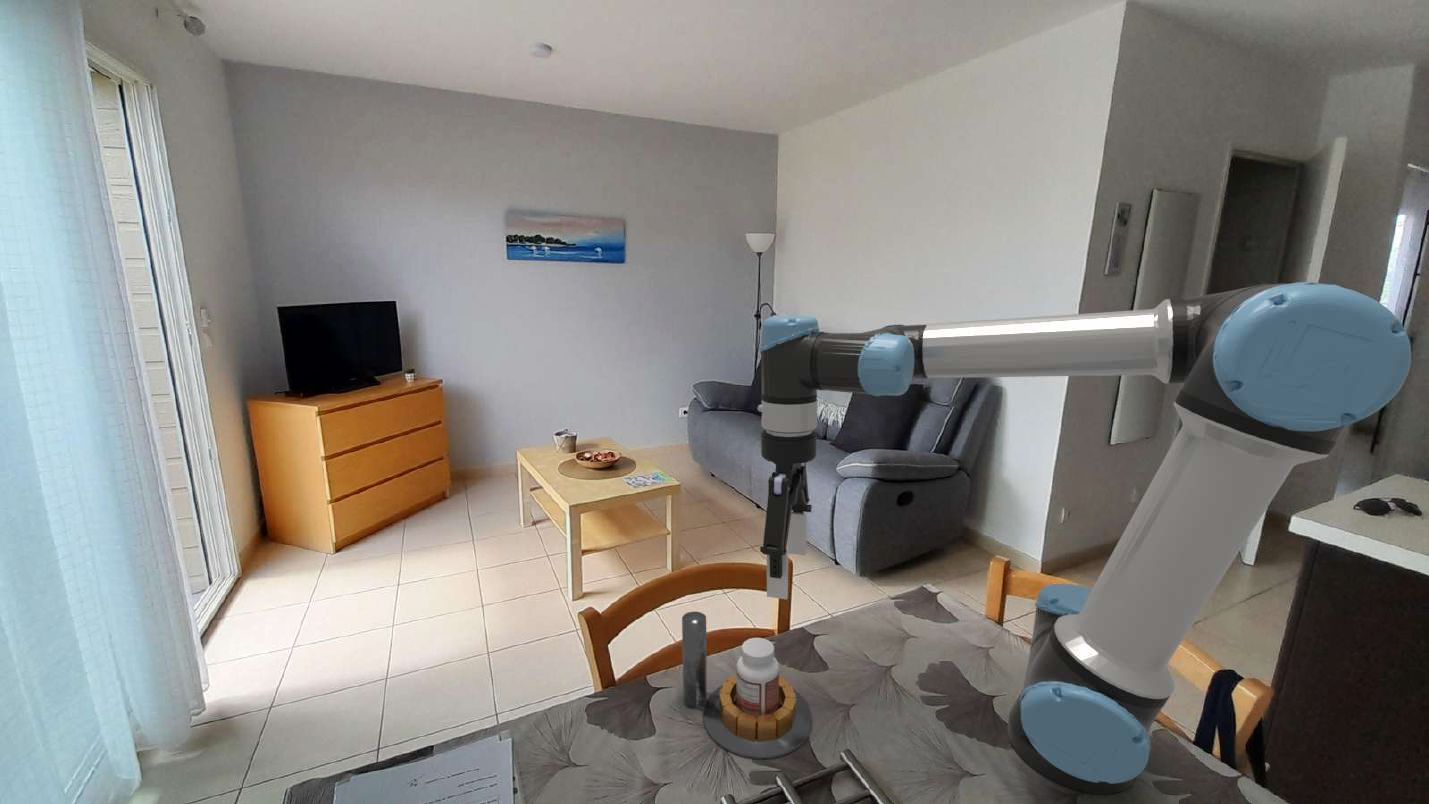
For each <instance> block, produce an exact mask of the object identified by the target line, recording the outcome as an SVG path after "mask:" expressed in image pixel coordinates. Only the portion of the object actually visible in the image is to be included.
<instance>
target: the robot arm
mask: <svg viewBox="0 0 1429 804" xmlns="http://www.w3.org/2000/svg"><path fill="white" fill-rule="evenodd" d="M759 353H760V362H761V363H760V365H761V366H760V367H761V368H760V369H761V370H760V372H761V373H760V375H761V404H758V406H757V411H758V412H761V427H762V428H763V429H764V430H763V431H762V432H761V436H760V444H761V445H760V447H761V448H760V452H761V457H762V458H763V459H764V460H765V461H768V462H771V463H773V464H775V471H774V472H772V473H771V476H769V478H768V480H767V482H768V491H767V492H768V493H767V495H768V496H767V504H766V512H765V514H766V515H765V525H764V534H763V543H762V546H761V545H760V547H759V548H760V549H759V551H760V553H762V554H763V555H766V597H768V598H772V599H773V598H775V599H781V600H785V601H786V600H788V598H789V554H791V555H792V554H793V555H799V556H806V554H807V513H812V509H813V507H812V506H813V505H812V504H809V502H810V498H809V486H808V475H807V474H808V473H807V463H810V462H812V461H813V460H814V459H815V458H816V456H817V433H816V432H815V431H814V430H816V428H818V427H817V426H818V391H829V392H841V393H851V394H861V395H871V396H873V397H881V396H896V397H898V396H902V395H904V394H906V393H907V391H908V390H909V387H910V385H911V384H912V381H913V379H914V380H922V379H936V378H937V379H942V378H944V379H945V378H947V379H949V378H950V379H951V378H952V379H953V378H955V379H956V378H1021V377H1022V378H1023V377H1024V378H1027V377H1028V378H1029V377H1031V378H1033V377H1087V376H1088V377H1090V376H1091V377H1095V376H1096V377H1097V376H1098V377H1100V376H1104V377H1105V376H1154V377H1155V378H1156V379H1158V380H1159V381H1161V382H1162V383H1163V384H1182V387H1181V389H1180V391H1179V393H1178V394H1177V396H1176V398H1175V400H1174V402H1173V407H1174V408H1175V410H1176V412H1177V414H1178V416H1179V418H1180V420H1181V428H1180V430H1179V432H1178V434H1177V435H1176V436H1175V439H1174V441H1173V442H1172V445H1171V446H1170V448H1169V450H1168V452H1167V454H1166V455H1165V457H1164V458H1163V460H1162V463H1161V464H1160V466H1159V468H1158V469H1157V472H1156V473H1155V475H1154V476H1153V478H1152V480H1151V482H1150V484H1149V486H1148V487H1147V490H1146V492H1145V493H1144V495H1143V497H1142V499H1141V501H1140V503H1139V504H1138V506H1137V507H1136V509H1135V511H1134V513H1133V515H1132V517H1131V519H1130V521H1128V524H1127V526H1126V528H1125V529H1124V531H1123V533H1122V534H1121V536H1120V538H1119V540H1118V542H1117V544H1116V546H1115V547H1114V550H1113V551H1112V553H1111V555H1110V557H1109V558H1108V560H1107V561H1106V563H1105V566H1104V567H1103V569H1102V571H1101V573H1100V575H1099V576H1098V579H1097V580H1096V581H1095V584H1094V585H1093V587H1088V586H1086V585H1085V586H1083V585H1079V584H1071V583H1051V584H1048V585H1044V586H1043V587H1042V588H1040V590H1039V592H1038V595H1037V600H1036V602H1035V603H1034V606H1035V613H1034V614H1035V615H1034V616H1035V617H1034V624H1033V629H1032V636H1031V642H1030V643H1031V645H1030V650H1029V654H1028V655H1029V656H1028V660H1027V661H1028V662H1027V667H1026V672H1025V677H1024V684H1023V688H1022V690H1021V692H1020V693H1019V695H1018V697H1017V699H1016V700H1015V702H1014V704H1013V705H1012V707H1011V709H1010V711H1009V714H1008V723H1007V736H1008V739H1009V742H1010V743H1011V746H1012V747H1013V749H1014V750H1015V751H1016V753H1017V754H1018V755H1019V757H1020V758H1022V760H1023V761H1025V763H1026V764H1028V765H1029V766H1030V767H1031V768H1033V769H1034V770H1036V771H1037V772H1038V773H1040V774H1041V775H1042V776H1044V777H1046V778H1048V779H1049V780H1051V781H1053V782H1055V783H1056V784H1057V783H1058V784H1059V785H1062V786H1064V787H1067V788H1069V789H1073V790H1077V791H1080V792H1083V793H1089V794H1094V795H1095V794H1096V795H1110V794H1116V793H1120V792H1122V791H1125V790H1126V789H1127V788H1129V787H1130V786H1131V785H1132V784H1133V782H1134V780H1135V778H1136V777H1138V776H1139V775H1140V774H1141V773H1142V772H1143V771H1144V770H1145V768H1146V766H1147V764H1148V763H1149V762H1148V761H1149V758H1150V752H1151V751H1152V748H1151V747H1152V746H1151V744H1152V743H1151V739H1150V737H1149V731H1150V728H1151V726H1152V725H1153V723H1154V722H1155V721H1156V719H1157V718H1158V716H1159V714H1161V713H1160V712H1162V709H1163V708H1164V707H1165V705H1166V703H1167V701H1168V700H1169V699H1170V697H1171V695H1172V694H1173V693H1174V690H1175V681H1174V678H1173V676H1172V673H1170V670H1169V668H1168V666H1167V665H1169V664H1168V663H1170V660H1171V659H1172V658H1173V656H1174V654H1175V653H1176V651H1177V650H1178V648H1179V646H1180V645H1181V643H1182V642H1183V641H1184V638H1185V637H1186V635H1187V634H1188V632H1189V631H1190V629H1191V628H1192V626H1193V624H1194V623H1195V621H1196V620H1197V619H1198V617H1199V616H1200V614H1201V612H1202V611H1203V609H1204V607H1205V606H1206V604H1207V602H1208V601H1209V600H1210V599H1211V596H1212V595H1213V593H1214V592H1215V590H1216V589H1217V587H1218V586H1219V584H1220V582H1221V581H1222V579H1223V577H1225V575H1226V573H1227V571H1228V570H1229V568H1230V567H1231V565H1232V564H1233V562H1234V561H1235V559H1236V558H1237V555H1238V554H1239V553H1240V551H1241V550H1242V548H1243V546H1245V543H1246V542H1247V540H1248V539H1249V537H1250V536H1251V534H1252V532H1253V531H1254V529H1255V528H1256V526H1257V525H1258V523H1259V522H1260V520H1261V518H1262V517H1263V515H1264V514H1265V512H1266V510H1267V509H1268V507H1269V505H1270V504H1272V503H1271V502H1272V501H1273V499H1274V498H1275V497H1276V495H1277V494H1278V491H1279V490H1280V488H1281V487H1282V485H1283V484H1284V483H1285V481H1286V479H1287V477H1288V476H1289V475H1290V473H1291V471H1292V469H1293V468H1294V467H1295V466H1297V465H1300V464H1305V463H1308V462H1309V463H1310V462H1313V461H1316V460H1318V461H1319V460H1322V459H1326V458H1327V457H1328V456H1329V455H1330V453H1331V452H1332V450H1333V448H1334V447H1335V446H1336V444H1337V442H1338V441H1339V439H1340V438H1341V437H1342V435H1343V433H1344V431H1346V429H1347V427H1348V426H1349V425H1353V424H1354V423H1356V422H1359V421H1361V420H1364V419H1365V418H1368V417H1370V416H1372V415H1373V414H1375V413H1376V412H1378V411H1380V410H1381V409H1382V408H1384V407H1385V406H1386V405H1387V404H1388V403H1390V401H1391V400H1392V399H1393V398H1395V396H1396V395H1397V394H1398V393H1399V391H1400V390H1401V388H1402V387H1403V385H1404V384H1405V381H1406V379H1407V377H1408V375H1409V372H1410V368H1411V364H1412V347H1411V340H1410V338H1409V335H1408V333H1407V331H1406V329H1405V328H1404V326H1403V324H1402V323H1401V321H1400V320H1399V318H1398V317H1397V316H1396V315H1395V314H1394V313H1393V312H1392V311H1391V310H1390V309H1389V308H1387V307H1386V306H1384V305H1383V304H1382V303H1381V302H1379V301H1377V300H1376V299H1374V298H1372V297H1370V296H1368V295H1365V294H1363V293H1360V292H1358V291H1356V290H1353V289H1349V288H1346V287H1344V286H1343V287H1342V286H1340V285H1338V284H1327V283H1319V282H1314V281H1301V282H1299V281H1298V282H1293V283H1289V282H1288V283H1287V282H1275V283H1274V282H1273V283H1262V284H1256V285H1252V286H1248V287H1244V288H1243V287H1242V288H1238V289H1233V290H1228V291H1224V292H1217V293H1211V294H1206V295H1197V296H1190V297H1183V298H1168V299H1167V298H1166V299H1164V300H1163V301H1161V303H1159V304H1157V305H1156V307H1154V308H1152V309H1149V308H1148V309H1136V310H1135V309H1133V310H1121V311H1105V312H1092V313H1091V312H1090V313H1078V314H1077V313H1075V314H1061V315H1046V316H1044V315H1043V316H1042V315H1041V316H1031V317H1029V316H1027V317H1014V318H999V319H998V318H997V319H986V320H985V319H984V320H969V321H956V322H952V321H951V322H941V323H940V322H938V323H928V324H911V325H905V324H901V323H900V324H899V323H898V324H891V325H890V324H889V325H885V326H884V327H882V328H879V329H878V328H877V329H874V330H868V331H864V332H860V333H859V332H855V333H854V332H853V333H852V332H847V333H846V332H837V333H836V332H833V333H832V332H824V331H820V327H819V322H818V319H817V318H816V317H815V316H811V315H809V316H804V315H783V316H782V315H781V316H779V315H778V316H769V317H768V318H766V319H765V320H764V321H763V323H762V326H761V341H760V349H759Z"/></svg>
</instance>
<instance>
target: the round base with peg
mask: <svg viewBox="0 0 1429 804" xmlns="http://www.w3.org/2000/svg"><path fill="white" fill-rule="evenodd" d="M681 622H682V623H681V624H682V625H681V626H682V627H681V628H682V629H681V634H682V638H681V639H682V641H681V642H682V697H683V699H682V702H683V704H684V705H685V707H687V708H689V709H693V710H695V709H696V710H700V711H703V714H702V715H703V724H704V728H705V731H706V732H707V734H708V735H709V737H710V738H711V739H712V740H713V742H714V743H715V744H716V745H717V746H719V747H720V748H722V749H723V750H725V751H726V752H728V753H731V754H733V755H735V756H737V757H742V758H744V759H745V758H746V759H751V760H752V759H753V760H771V759H776V758H777V759H778V758H781V757H783V756H787V755H789V754H791V753H793V752H795V751H796V750H798V749H800V747H802V746H803V745H804V744H805V742H806V741H807V739H808V738H809V736H810V734H811V731H812V727H813V715H812V711H811V708H810V706H809V704H808V701H806V699H805V698H804V696H803V695H802V694H801V693H800V692H798V691H797V690H796V689H795V688H793V686H792V685H791V683H789V682H788V681H787V680H785V679H784V678H782V677H781V676H780V675H779V709H778V710H777V711H775V712H774V713H772V714H765V715H753V714H749V713H745V712H742V711H741V710H740V709H738V708H737V673H736V674H734V675H733V676H731V677H729V678H727V679H726V681H724V683H723V684H722V685H721V686H719V687H717V688H716V689H715V690H714V691H713V692H712V693H711V692H707V687H708V686H707V675H708V674H707V672H708V671H707V616H706V614H704V613H703V612H701V611H689V612H686V613H684V614H683V615H682V617H681Z"/></svg>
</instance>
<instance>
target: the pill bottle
mask: <svg viewBox="0 0 1429 804" xmlns="http://www.w3.org/2000/svg"><path fill="white" fill-rule="evenodd" d="M736 662H737V663H736V674H737V708H738V709H740V710H741V711H742V712H745V713H749V714H753V715H765V714H772V713H774V712H775V711H777V710H778V709H779V676H780V665H779V663H778V660H777V658H776V657H775V646H774V644H773V643H772V642H771V641H770V640H768V639H766V638H762V637H752V638H748V639H746V640H745V641H744V642H743V643H742V646H741V656H740V657H739V658H738V660H737V661H736Z"/></svg>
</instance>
